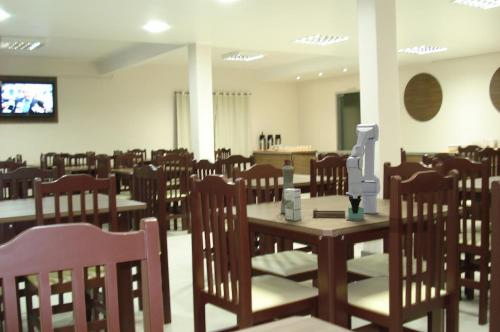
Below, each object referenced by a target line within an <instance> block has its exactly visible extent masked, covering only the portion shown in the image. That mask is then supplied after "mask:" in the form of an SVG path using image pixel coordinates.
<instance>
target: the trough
mask: <svg viewBox="0 0 500 332" xmlns="http://www.w3.org/2000/svg"><path fill="white" fill-rule="evenodd" d="M312 216H313V217H312V218H317V219H318V218H320V219H321V218H326V219H328V218H329V219H330V218H331V219H332V218H333V219H334V218H338V219H341V218H342V219H343V218H346V210H330V209H329V210H324V209H323V210H317V207H313V210H312Z"/></svg>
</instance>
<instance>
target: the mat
mask: <svg viewBox="0 0 500 332" xmlns="http://www.w3.org/2000/svg"><path fill="white" fill-rule="evenodd" d="M345 218H346V219H345V220H346V222H347V221H349V222H350V221H351V222H352V221H355V222H357V221H361V222H362V221H363V222H364V221H365V218H364V219H348V216H345Z"/></svg>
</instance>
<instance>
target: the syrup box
mask: <svg viewBox="0 0 500 332" xmlns="http://www.w3.org/2000/svg"><path fill="white" fill-rule="evenodd" d="M301 193H302V192H301V188H294V189H293V188H288V189H284V202H285V214H284V220H285V221H291V222H293V221H294V222H295V221H300V219H301V220H302V201H301V200H302V197H301V196H302V194H301Z"/></svg>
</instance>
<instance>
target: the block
mask: <svg viewBox="0 0 500 332" xmlns="http://www.w3.org/2000/svg"><path fill="white" fill-rule="evenodd" d="M347 208H348V209H347V210H348V211H347V215H348V216H347V217H348V219H364V220H365V213H364V207H362V206H359V209H358V214H353V212H352V206H348V207H347Z"/></svg>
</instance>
